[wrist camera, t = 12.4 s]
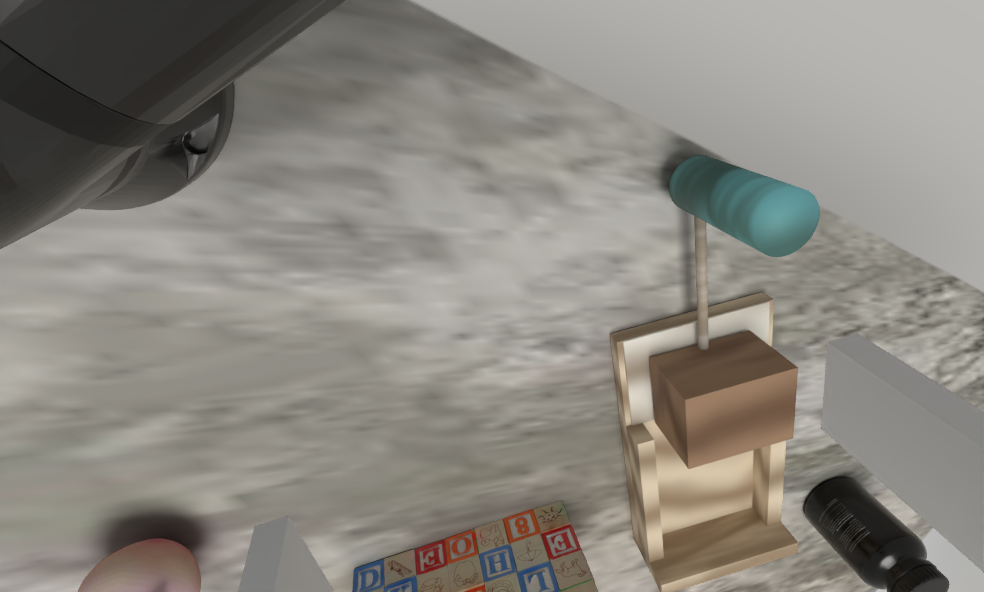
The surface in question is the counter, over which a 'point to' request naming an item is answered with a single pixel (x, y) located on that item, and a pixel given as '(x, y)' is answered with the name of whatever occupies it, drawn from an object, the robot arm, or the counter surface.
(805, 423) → the counter surface
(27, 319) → the counter surface
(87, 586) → the decorative fruit
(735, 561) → the lane board
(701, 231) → the brown teal long piece
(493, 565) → the stack of blocks
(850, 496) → the supplement bottle
